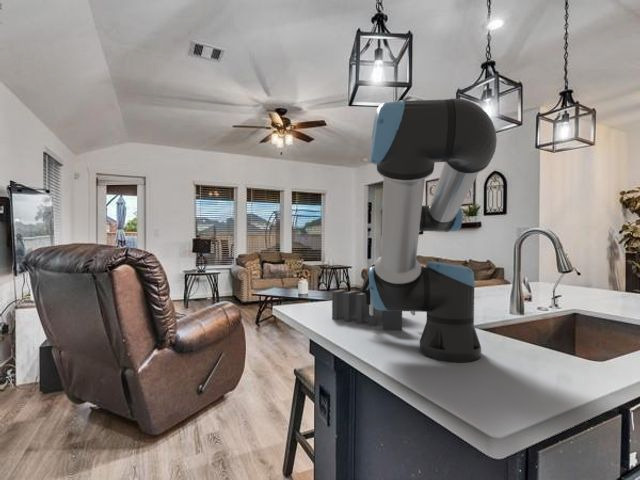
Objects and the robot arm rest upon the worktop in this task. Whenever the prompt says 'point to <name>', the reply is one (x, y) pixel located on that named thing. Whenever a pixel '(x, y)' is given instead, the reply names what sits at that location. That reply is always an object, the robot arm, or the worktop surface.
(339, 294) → the domino
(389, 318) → the domino
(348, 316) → the domino
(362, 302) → the domino
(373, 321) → the domino
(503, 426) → the worktop surface
